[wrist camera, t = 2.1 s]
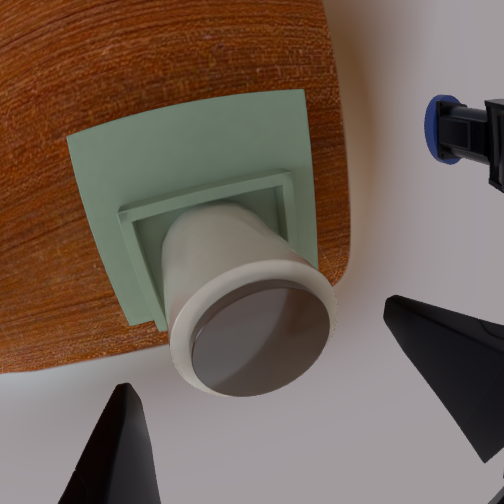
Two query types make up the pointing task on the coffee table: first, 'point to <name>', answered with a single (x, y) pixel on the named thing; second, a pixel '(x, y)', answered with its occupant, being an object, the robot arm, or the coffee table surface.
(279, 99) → the stand
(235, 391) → the jar
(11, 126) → the coffee table surface
